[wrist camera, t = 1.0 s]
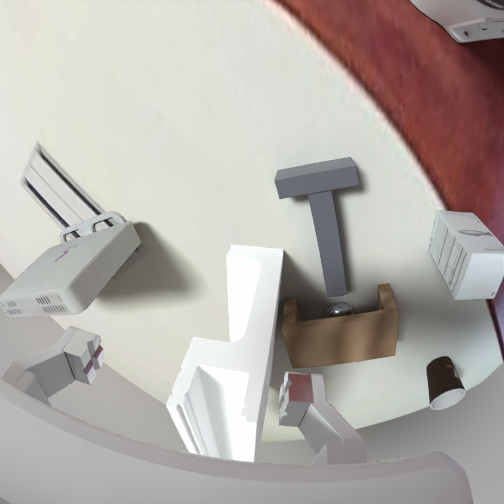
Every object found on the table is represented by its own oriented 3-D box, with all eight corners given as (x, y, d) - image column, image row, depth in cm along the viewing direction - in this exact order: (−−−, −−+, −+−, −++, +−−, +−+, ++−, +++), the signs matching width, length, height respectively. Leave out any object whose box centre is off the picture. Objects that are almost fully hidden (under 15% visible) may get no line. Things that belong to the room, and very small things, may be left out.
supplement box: (473, 211, 36) (513, 254, 25) (462, 252, 40) (494, 301, 29) (435, 207, 37) (472, 252, 27) (426, 250, 41) (454, 302, 30)
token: (352, 299, 48) (353, 307, 47) (354, 320, 51) (355, 327, 49) (324, 303, 50) (324, 311, 48) (327, 323, 52) (327, 331, 50)
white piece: (270, 379, 64) (251, 492, 40) (236, 374, 65) (208, 484, 41) (283, 249, 45) (256, 423, 22) (231, 244, 46) (166, 405, 23)
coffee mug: (421, 360, 54) (430, 397, 46) (455, 348, 51) (467, 383, 43) (423, 385, 59) (429, 418, 51) (453, 374, 56) (462, 406, 48)
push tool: (350, 156, 36) (355, 165, 32) (365, 275, 45) (369, 293, 42) (277, 170, 39) (274, 180, 35) (305, 284, 48) (305, 302, 44)
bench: (388, 283, 45) (398, 314, 39) (388, 324, 50) (395, 355, 44) (284, 298, 50) (280, 330, 44) (295, 337, 55) (292, 368, 49)
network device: (134, 202, 45) (57, 273, 28) (155, 247, 49) (94, 330, 32) (49, 234, 52) (-12, 290, 35) (68, 268, 56) (14, 328, 39)
